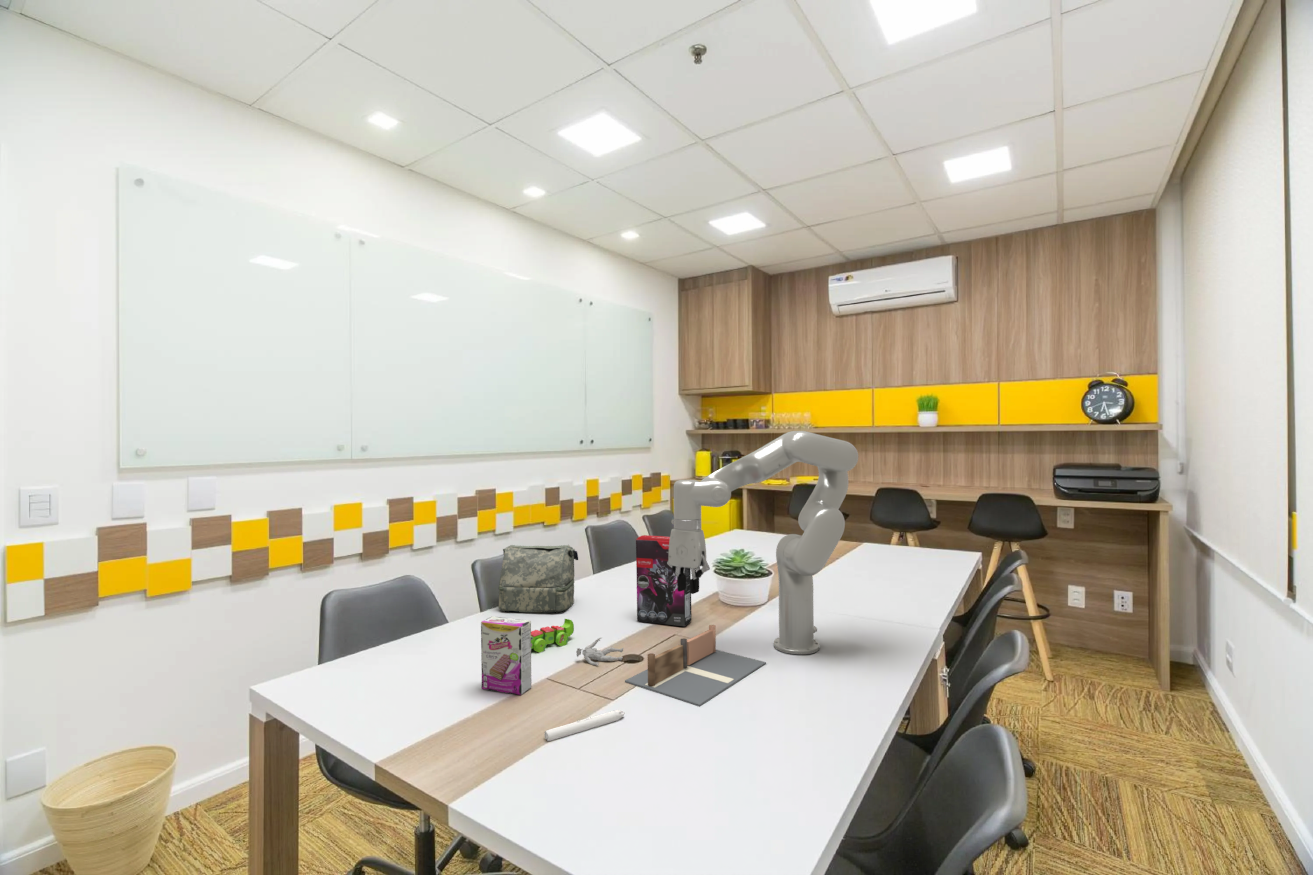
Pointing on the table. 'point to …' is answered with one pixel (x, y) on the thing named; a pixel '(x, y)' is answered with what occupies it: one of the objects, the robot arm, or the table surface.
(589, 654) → the soldier figure
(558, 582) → the lunch bag
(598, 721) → the marker
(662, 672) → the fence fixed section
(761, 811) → the table surface
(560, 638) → the toy crocodile
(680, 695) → the mat
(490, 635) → the candy bar box
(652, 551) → the graphics card box
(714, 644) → the fence swing section
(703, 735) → the table surface
